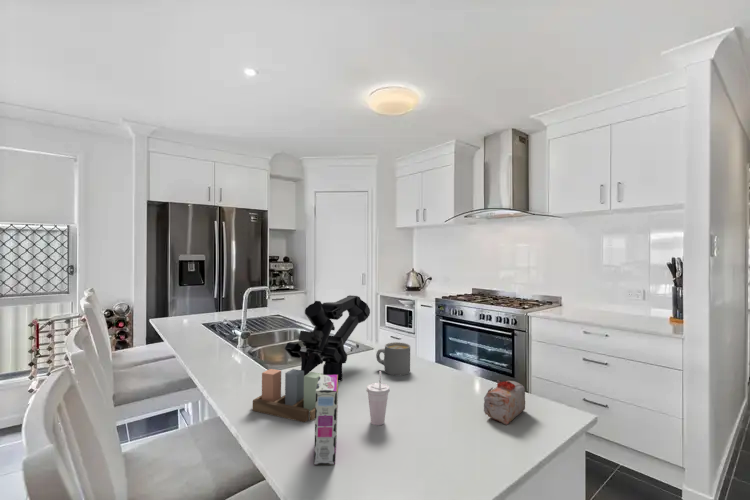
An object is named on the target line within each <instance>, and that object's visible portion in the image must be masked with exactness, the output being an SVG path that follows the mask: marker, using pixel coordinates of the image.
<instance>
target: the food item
mask: <svg viewBox="0 0 750 500" xmlns="http://www.w3.org/2000/svg"><path fill="white" fill-rule="evenodd" d="M483 401H484V403H483V412H484V414H485V416H487V417H488V418H491V419H492V420H495V422H496V421H497V422H499V423H500V424H503V425H505V426H507V425H509V424H510V423H511V422H512V421H513V420H514V419H515V418H516V417H517V416H519V415H520V414H521V413H522V412H524V411H525V409H526V389H525V386H523V384H521V383H519V382H517V381H515V380H506V381H500V380H499V379H497V380H496V387H495V388H494V387H493V386H492V387H490V388H489V389H488V390H487V392H486V394H485V395H484V397H483Z"/></svg>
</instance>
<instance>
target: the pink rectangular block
mask: <svg viewBox="0 0 750 500" xmlns="http://www.w3.org/2000/svg"><path fill="white" fill-rule="evenodd" d="M261 395H262V400H266V401H271V402H275V401H276V400H278V399H279V398H281V397H282V370H280V369H274V368H269V369H267V370H266V371H265V370H264V371H263V372H262V373H261Z"/></svg>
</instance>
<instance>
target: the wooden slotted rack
mask: <svg viewBox="0 0 750 500" xmlns="http://www.w3.org/2000/svg"><path fill="white" fill-rule="evenodd" d="M252 411H253V412H256V413H260V414H265V415H270V416H274V417H279V418H282V419H283V418H284V419H288V420H293V421H296V422H301V423H307V422H308V421H311V422H312V421H315V408H314V409H312V410H311V411H309V409H305V408H304V398H303V399H302V400H300V401H299V402H297V403H296V404H294V405H293V406H291V405H286V404H285V394H284V395H283V396H281V398H279V399H278V400H276V401H275V402H271V401H266V400H262V394H261V395H260V396H257V397H256V398H254V399H253V400H252Z"/></svg>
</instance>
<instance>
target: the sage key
mask: <svg viewBox="0 0 750 500" xmlns="http://www.w3.org/2000/svg"><path fill="white" fill-rule="evenodd" d="M319 375H323V373H320V372H315V371H310V372H309V373H308V374H307V375H305V376H304V408H305V409H309V412H310V411H311V410H312V409H314V408H315V407H316V387H317V383H318V378H319Z"/></svg>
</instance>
